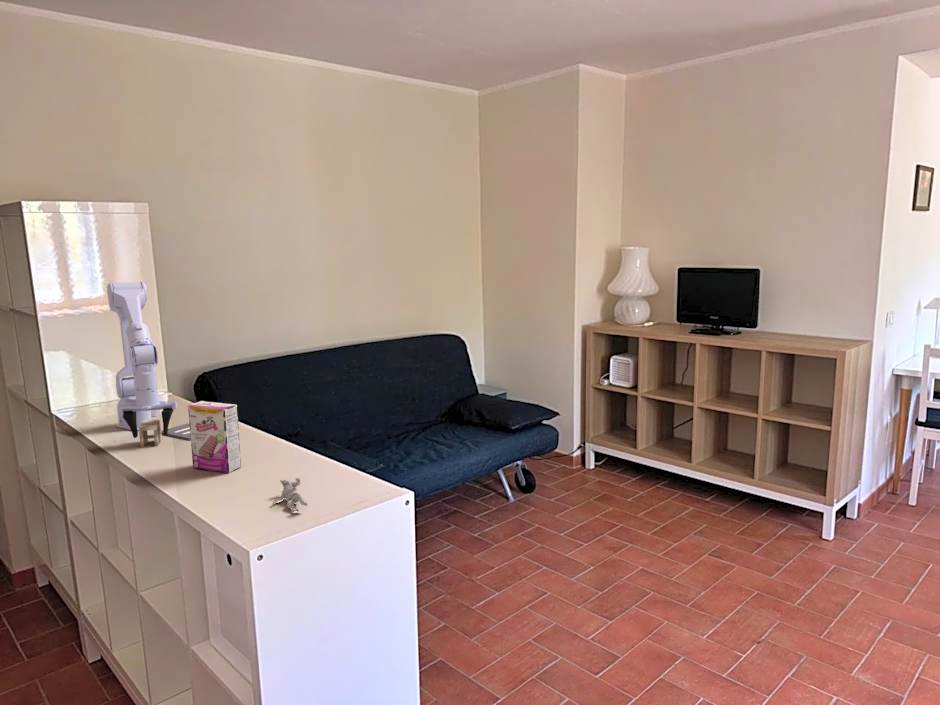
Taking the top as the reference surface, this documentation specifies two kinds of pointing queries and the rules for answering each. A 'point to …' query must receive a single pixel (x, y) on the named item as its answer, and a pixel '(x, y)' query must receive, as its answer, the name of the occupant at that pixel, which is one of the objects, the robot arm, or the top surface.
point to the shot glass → (162, 397)
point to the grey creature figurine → (291, 493)
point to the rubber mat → (180, 432)
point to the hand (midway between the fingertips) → (150, 435)
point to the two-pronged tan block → (150, 425)
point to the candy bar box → (214, 436)
